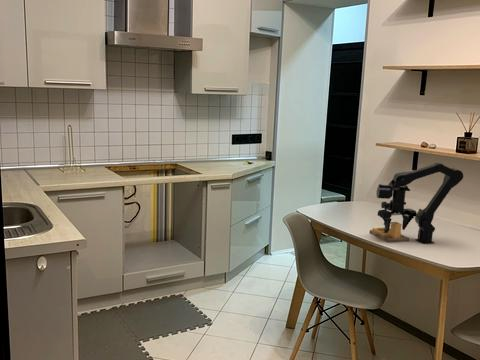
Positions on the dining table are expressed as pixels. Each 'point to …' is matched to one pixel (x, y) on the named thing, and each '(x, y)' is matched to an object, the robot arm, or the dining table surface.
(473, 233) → the dining table surface
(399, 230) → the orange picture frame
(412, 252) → the dining table surface
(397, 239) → the hook plate
